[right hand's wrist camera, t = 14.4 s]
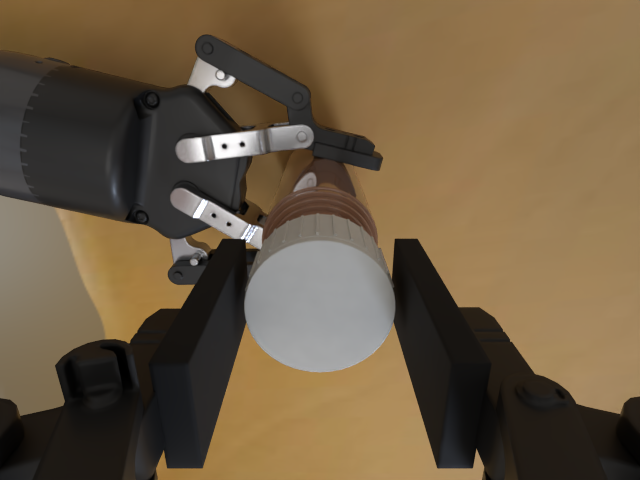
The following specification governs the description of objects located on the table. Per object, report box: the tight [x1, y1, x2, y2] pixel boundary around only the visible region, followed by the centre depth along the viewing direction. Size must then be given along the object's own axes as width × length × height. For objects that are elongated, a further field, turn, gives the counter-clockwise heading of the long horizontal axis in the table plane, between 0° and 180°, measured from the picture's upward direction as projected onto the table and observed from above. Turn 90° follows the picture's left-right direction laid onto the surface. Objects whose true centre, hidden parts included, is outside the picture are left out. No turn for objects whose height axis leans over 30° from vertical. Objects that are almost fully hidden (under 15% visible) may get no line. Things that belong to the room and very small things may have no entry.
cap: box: [244, 213, 396, 372], centre depth 13 cm, size 4×4×2 cm
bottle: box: [262, 149, 378, 246], centre depth 21 cm, size 5×5×19 cm
